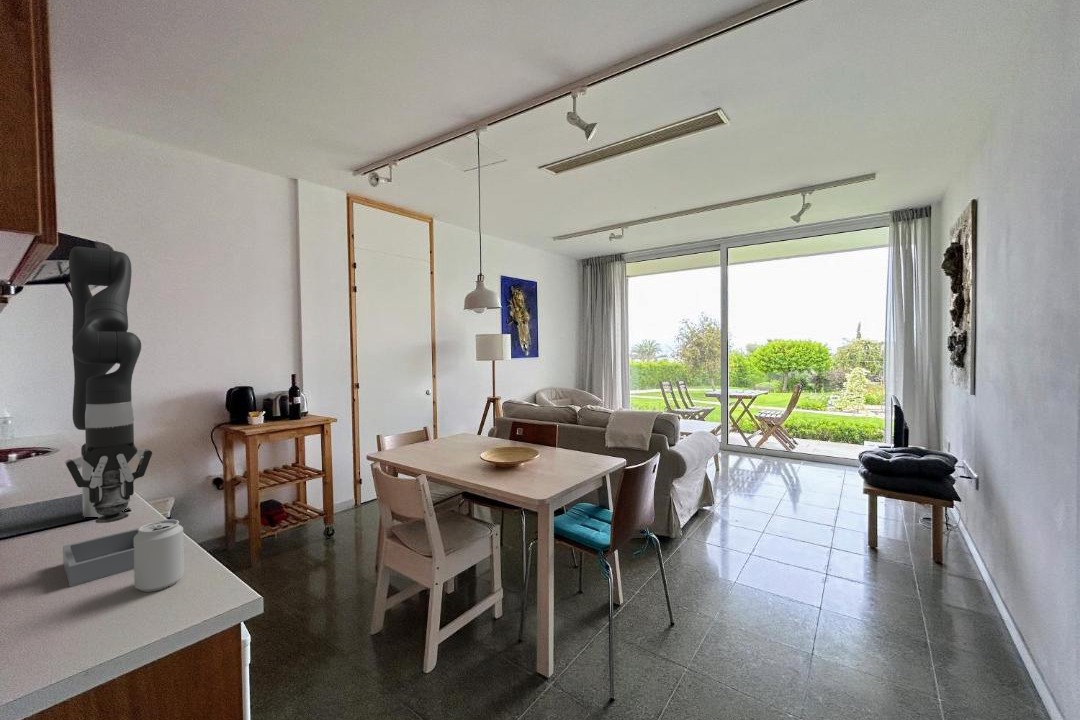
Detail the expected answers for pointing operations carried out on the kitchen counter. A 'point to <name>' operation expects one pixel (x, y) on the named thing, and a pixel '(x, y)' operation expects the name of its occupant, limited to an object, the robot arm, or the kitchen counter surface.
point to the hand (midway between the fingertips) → (111, 500)
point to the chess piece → (111, 498)
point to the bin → (99, 565)
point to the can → (158, 555)
